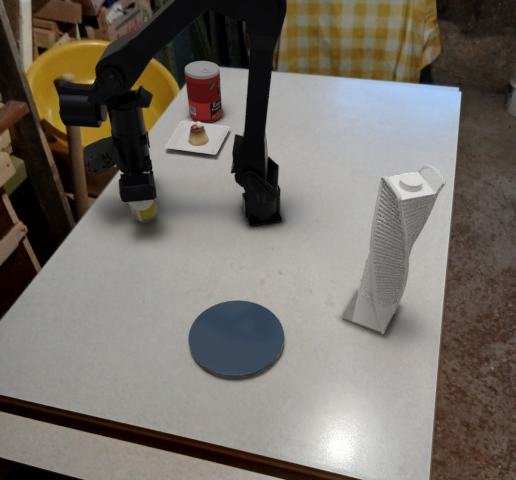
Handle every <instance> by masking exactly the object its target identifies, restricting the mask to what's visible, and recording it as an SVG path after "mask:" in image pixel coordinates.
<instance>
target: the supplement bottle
mask: <svg viewBox="0 0 516 480" xmlns="http://www.w3.org/2000/svg"><path fill="white" fill-rule="evenodd" d="M127 203H128V206H129V209H130V211H131V213H132V216H133V217H134V218H135V219H136V220H137V221H139V222H141V223H149V222H151V221H153V220H154V219H155V218H156V217H157V214H158V208H157V204H156V201H155V199H154V200H146V201H136V202H127Z"/></svg>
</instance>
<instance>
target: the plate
mask: <svg viewBox="0 0 516 480" xmlns="http://www.w3.org/2000/svg"><path fill="white" fill-rule="evenodd" d="M187 341H188V347H189V351H190V353H191V355H192V357H193V359H194V360H195V362H197V364H198V365H199V366H200V367H201V368H203V369H204V370H206V371H207V372H209V373H211V374H214V375H217V376H219V377H224V378H232V379H235V378H236V379H237V378H239V379H240V378H246V377H251V376H254V375H257V374H259V373H261V372H263V371H265V370H266V369H268V368H270V367H271V366H272V365H273V364H274V363H275V362H276V361H277V360H278V358H279V357H280V355H281V353H282V351H283V349H284V344H285V331H284V328H283V325H282V323H281V321H280V319H279V318H278V317H277V316H276V314H275V313H274V312H272V310H270V309H269V308H267V307H265V306H264V305H261V304H259V303H258V302H257V303H256V302H254V301H253V302H252V301H248V300H238V299H237V300H227V301H222V302H218V303H216V304H214V305H212V306H210V307H208V308H206V309H205V310H203V311H202V312H201V313H200V314H199V315H197V316H196V318H195V319H194V321H193V322H192V324H191V326H190V328H189V332H188V340H187Z"/></svg>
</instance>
